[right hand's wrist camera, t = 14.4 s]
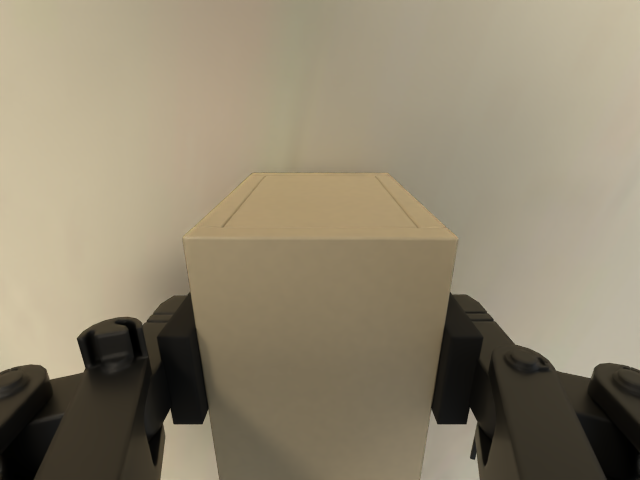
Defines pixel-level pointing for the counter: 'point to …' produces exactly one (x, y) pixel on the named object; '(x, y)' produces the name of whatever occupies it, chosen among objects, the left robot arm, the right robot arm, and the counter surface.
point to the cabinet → (320, 325)
